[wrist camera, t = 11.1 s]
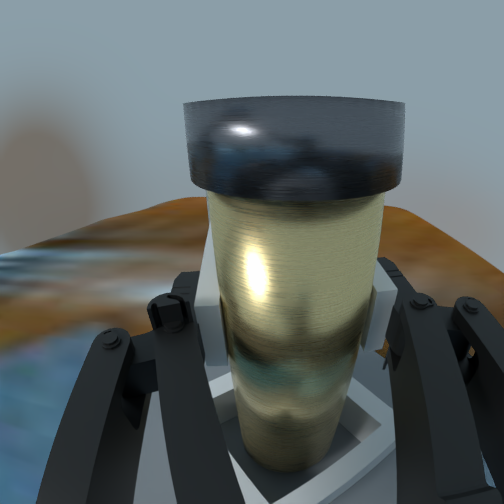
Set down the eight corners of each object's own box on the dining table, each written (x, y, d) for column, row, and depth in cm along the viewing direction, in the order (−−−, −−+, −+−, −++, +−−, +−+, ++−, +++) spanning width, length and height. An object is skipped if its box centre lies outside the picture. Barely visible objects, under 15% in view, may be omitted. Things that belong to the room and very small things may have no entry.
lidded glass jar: (216, 422, 16) (156, 107, 8) (297, 379, 19) (304, 96, 11) (274, 498, 12) (268, 95, 4) (360, 438, 14) (441, 108, 7)
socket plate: (96, 402, 19) (74, 368, 17) (308, 311, 28) (310, 275, 26) (230, 647, 4) (218, 663, 2) (486, 443, 13) (515, 411, 11)
